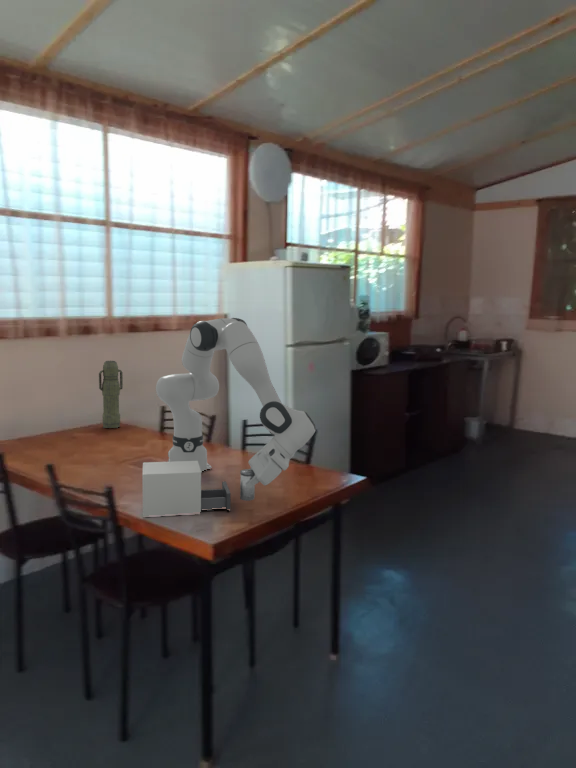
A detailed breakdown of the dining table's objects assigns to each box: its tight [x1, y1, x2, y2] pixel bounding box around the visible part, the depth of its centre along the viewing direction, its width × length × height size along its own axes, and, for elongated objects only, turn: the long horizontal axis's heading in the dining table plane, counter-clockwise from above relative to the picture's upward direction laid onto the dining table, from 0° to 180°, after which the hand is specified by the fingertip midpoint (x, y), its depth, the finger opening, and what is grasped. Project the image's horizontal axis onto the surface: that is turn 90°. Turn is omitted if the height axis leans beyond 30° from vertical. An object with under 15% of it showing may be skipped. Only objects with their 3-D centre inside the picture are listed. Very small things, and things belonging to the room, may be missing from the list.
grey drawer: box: [201, 480, 231, 510], centre depth 198 cm, size 13×17×6 cm
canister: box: [239, 468, 256, 502], centre depth 194 cm, size 5×5×9 cm
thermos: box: [98, 360, 124, 429], centre depth 314 cm, size 9×12×35 cm
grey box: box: [141, 461, 202, 517], centre depth 195 cm, size 14×18×14 cm
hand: (245, 483), depth 194 cm, fingers closed on canister, 5 cm apart
